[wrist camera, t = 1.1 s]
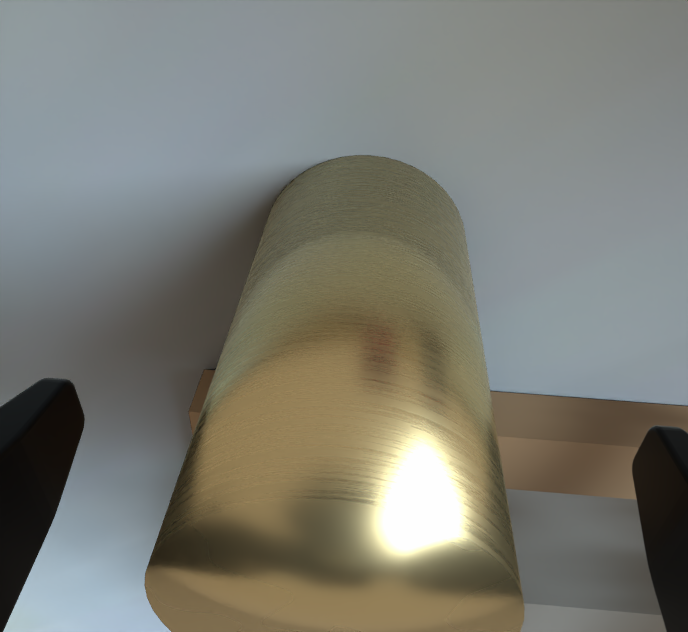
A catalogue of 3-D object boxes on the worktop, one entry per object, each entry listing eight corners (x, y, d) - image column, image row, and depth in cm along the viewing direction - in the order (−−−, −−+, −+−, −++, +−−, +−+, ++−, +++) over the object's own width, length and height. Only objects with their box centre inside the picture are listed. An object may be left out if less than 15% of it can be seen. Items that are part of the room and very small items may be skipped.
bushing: (482, 162, 12) (570, 524, 6) (450, 333, 15) (486, 704, 8) (260, 148, 12) (109, 485, 6) (269, 320, 15) (173, 675, 9)
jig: (909, 423, 15) (1061, 598, 12) (703, 650, 23) (756, 794, 20) (204, 369, 16) (148, 519, 13) (240, 608, 24) (212, 740, 21)
